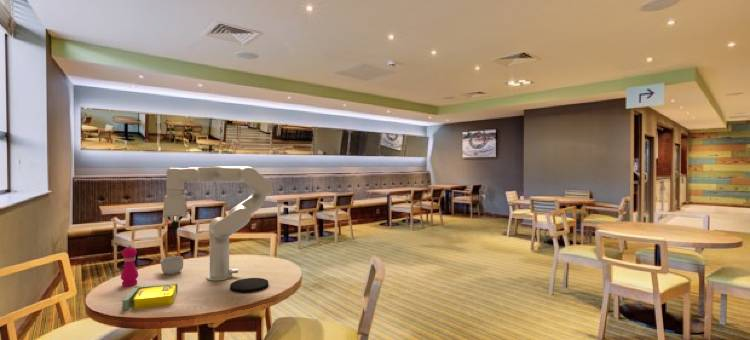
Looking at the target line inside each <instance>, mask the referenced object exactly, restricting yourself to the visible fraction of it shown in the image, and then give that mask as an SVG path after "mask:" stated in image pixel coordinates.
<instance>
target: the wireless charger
mask: <svg viewBox="0 0 750 340" xmlns="http://www.w3.org/2000/svg"><path fill="white" fill-rule="evenodd" d="M267 288H269V280H268V279H266V278H263V277H262V278H261V277H247V278H241V279H238V280H235V281H233V282H231V283H230V284H229V289H230V291H231V292H234V293H236V294H251V293H256V292H257V293H258V292H261V291H263V290H266V289H267Z"/></svg>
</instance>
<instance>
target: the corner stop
mask: <svg viewBox="0 0 750 340" xmlns="http://www.w3.org/2000/svg"><path fill="white" fill-rule="evenodd" d="M170 285H175V286H176V294H177V293H178V290H179V288H178V285H179V284H178V283H177V282H174V283H163V284H162V283H161V284H151V285H137V286H136V285H135V286H134V287H133V289H132V290H130V292H129V293H128V294H127V295H126V296H125V297H124V298H123V299H122V300H121V301H122V309H121V310H122V311H127V310H129V309H131V307H133V298H134V296H135V295H136V293H137V291H138V290H139V289H142V288H151V287H161V286H170Z"/></svg>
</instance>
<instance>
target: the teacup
mask: <svg viewBox="0 0 750 340" xmlns="http://www.w3.org/2000/svg"><path fill="white" fill-rule="evenodd" d="M159 263H160V267H161V271H162V272H163V274H165V275H169V276H170V275H176V274H179V273H180V272H181V271H182V270H183V268H184V257H183V256H181V255H173V256H168V257H161V258H160V261H159Z"/></svg>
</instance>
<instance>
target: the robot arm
mask: <svg viewBox="0 0 750 340" xmlns="http://www.w3.org/2000/svg"><path fill="white" fill-rule="evenodd" d="M197 182H215V183H222V184H223V183H245V184H247V185H248V187H250V188H251V194H250V195H249V196H248V197H247V198H246V199H244V200H243V201H241V202H240V203H238V204H236V205H235V206H234V207H232V208H231V209H229V211H228V214H227V215H226V216H225V217H221V216H217V217H215V218H213V219H212V220H211V221H210V222H209V226H208V235H209V236H208V237H209V274H207V275H206V280H207V281H214V282H215V281H216V282H217V281H225V280H228V279H231V278H232V277H233V274H238V273H239V269H238V268H231V266H230V236H232V235H233V234H235V233H236V232H238V231H239V230H241V229H243V228H244V227H246V225H248V223H249V222H250V221H251V218H252V216H253V214H254V213H255V212H256V213H257V211H259V210H260V209H261V208H262V207H263V205H264V204H265V201H266V198H267V197H269V196H270V195H271V194H272V192H273V186H272V183H270V182H269V181H268V180H267V179H266V178H265V177H264V176H263V175H262V174H260V173H259V172H258V171H257V170H256V169H255V168H254V167H252V166H245V165H244V166H240V165H239V166H237V165H235V166H233V165H231V166H229V165H228V166H225V165H224V166H223V165H222V166H212V167H211V166H208V167H207V166H205V167H203V166H199V167H197V166H195V167H193V166H191V167H187V168H181V167H168V168H167V169H166V195H165V196H164V198H163V199H164V200H163V208H162V209H163V210H162V214H163V215H162V218H163V219H166V220H167V219H168V220H169V221H170V222H171V229H172V231H178V229H179V228H180V221H181V220H182V219H185V218H187V217H188V204H187V203H188V201H187V196H186V194H187V193H188V190H187V189H185V188H184V187H185V186H184V185H185V184H184V183H197ZM175 217H176V219H175Z"/></svg>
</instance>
